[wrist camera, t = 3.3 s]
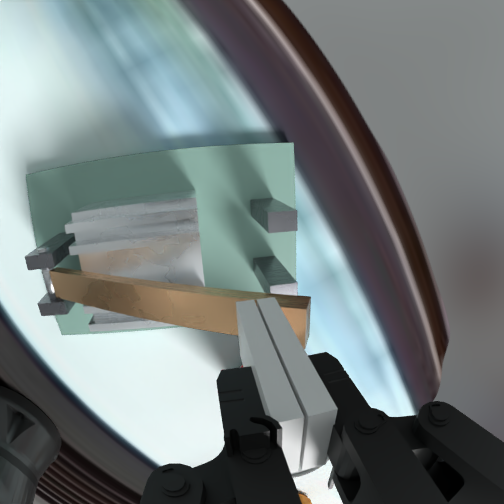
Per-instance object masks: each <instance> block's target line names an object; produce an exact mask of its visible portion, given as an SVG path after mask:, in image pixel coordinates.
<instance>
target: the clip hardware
mask: <svg viewBox="0 0 504 504" xmlns="http://www.w3.org/2000/svg"><path fill="white" fill-rule="evenodd" d="M250 209H251V216H252V217H253V218H254V219H255V220H256V221H257V222H258V223H259V224H260V225H261V226H262V227H263V228H264V229H265V230H266V231H267V232H268V233H278V232H289V231H297V210H296V209H294V208H292V207H290V206H288V205H286V204H284V203H282V202H280V201H278V200H276V199H274V198H264V199H250ZM75 241H76V240H75V234H74V233H68V234H66V232H62V233H59V234H57V235H55V236H54V237H52V238H51V239H50V240H48V241H47V242H45V243H44V244H42V245H41V246H39V247H38V248H36V249H35V250H34V251H32V252H31V253H29V254H28V255H26V256H25V260H26V264H27V268H28V270H34V269H41V270H42V274H43V278H44V281H45V285H46V289H47V292H48V293H47V294H46V295H45V296H44V297H43V298H42V299H41V300H40V302H39V303H38V307H39V310H40V313H41V316H49V315H67V314H68V313H69V312H70V310H71V309H72V307H73V306H74V304H75V303H76V302H72V301H68V300H65V299H61V298H58V297H56V295H55V291H54V288H53V284H52V280H51V276H50V272H49V271H50V270H52V269H54V267H56V266H57V265H58V264H59V263H60V262H61V261H62V260H63V259H64V258H65V257H66V256H68V255H69V254H70V252H69V246H70V245H71V244H73V243H74V242H75ZM253 269H254V274H255V276H256V278H257V280H258V281H259V283H260V285H261V287H262V289H263V291H264V292H265V293H273V294H284V295H296V296H297V281H296V280H295V279H294V278H293V277H292V275H291V274H290V273H289V272H288V271H287V269H286V268H285V267H284V266H283V265H282V263H281V262H280V261H279V260H278V259H277V258H276V256H267V257H258V258H253ZM80 271H82V270H80Z"/></svg>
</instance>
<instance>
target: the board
mask: <svg viewBox="0 0 504 504" xmlns="http://www.w3.org/2000/svg"><path fill="white" fill-rule="evenodd" d="M26 181H27V189H28V197H29V205H30V211H31V218H32V224H33V229H34V235H35V240H36V245H37V248H38V247H39V246H41V245H42V244H44V243H45V242H47V241H48V240H50V239H51V238H52V237H54V236H55V235H57V234H59V233H62V232H66V231H65V224H67V223H68V222H70V221H72V216H71V213H73V212H75V211H76V210H78V209H80V208H82V207H84V206H86V205H88V204H90V203H93V202H99V201H106V200H113V199H120V198H128V197H135V196H143V195H152V194H160V193H169V192H178V191H188V190H195V191H196V201H197V211H198V224H199V234H200V245H201V255H202V265H203V274H204V283H205V287H212V288H221V289H231V290H241V291H251V292H262V293H265V292H264V291H263V289H262V287H261V285H260V283H259V281H258V280H257V278H256V276H255V274H254V269H253V258H258V257H267V256H276V258H277V259H278V260H279V261H280V262H281V263H282V265H283V266H284V267H285V268H286V269H287V271H288V272H289V273H290V274H291V275H292V277H293V278H294V279H295V280H296V231H289V232H278V233H268V232H267V231H266V230H265V229H264V228H263V227H262V226H261V225H260V224H259V223H258V222H257V221H256V220H255V219H254V218H253V217H252V216H251V209H250V199H264V198H274V199H276V200H278V201H280V202H282V203H284V204H286V205H288V206H290V207H292V208H294V209H296V207H295V169H294V143H260V144H237V145H220V146H206V147H194V148H183V149H174V150H164V151H156V152H148V153H140V154H133V155H126V156H119V157H113V158H107V159H101V160H95V161H89V162H84V163H79V164H74V165H69V166H64V167H59V168H54V169H50V170H45V171H41V172H37V173H32V174H28V175H26ZM56 267H60V268H67V269H73V270H82V269H81V265H80V260H79V255H70V254H69V255H68V256H66V257H65V258H64V259H63V260H62V261H61V262H60V263H59V264H58V265H57V266H56ZM56 267H54V268H56ZM55 316H56V319H57V322H58V325H59V328H60V331H61V334H62V335H76V334H97V333H114V332H129V331H142V330H154V329H165V328H176V327H183V326H178V325H175V326H164V327H153V328H141V329H128V330H114V331H97V332H90V329H89V326H88V324H89V322H90V320H91V318H92V316H93V313H92V314H85V313H84V309H83V304H80V303H75V304H74V306H73V307H72V309H71V310H70V312H69V313H68V314H67V315H55Z"/></svg>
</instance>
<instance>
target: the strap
mask: <svg viewBox="0 0 504 504" xmlns="http://www.w3.org/2000/svg"><path fill="white" fill-rule="evenodd" d="M49 272H50V276H51V280H52V284H53V288H54V291H55V295H56V297H58V298H61V299H65V300H68V301H72V302H76V303H80V304H83V305H87V306H91V307H95V308H99V309H103V310H108V311H112V312H116V313H120V314H125V315H129V316H134V317H138V318H143V319H148V320H153V321H157V322H162V323H168V324H173V325H178V326H183V327H189V328H194V329H200V330H206V331H212V332H218V333H224V334H231V335H238V324H237V312H236V302H239V301H247V300H254V301H255V303H256V306H257V299H263V298H271V297H275V299H276V300H277V302H278V304H279V306H280V308H281V309H282V311H283V313H284V315H285V316H286V318H287V320H288V322H289V323H290V325H291V327H292V329H293V331H294V332H295V334H296V336H297V338H298V339H299V341H300V343H301V345H302V347H303V348H304V349H305V347H306V344H307V340H308V337H309V328H310V304H311V297H309V296H296V295H284V294H273V293H262V292H251V291H241V290H231V289H221V288H212V287H202V286H194V285H185V284H176V283H168V282H160V281H152V280H144V279H136V278H129V277H121V276H114V275H107V274H100V273H93V272H86V271H80V270H73V269H67V268H60V267H56V268H54V269H52V270H50V271H49Z"/></svg>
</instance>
